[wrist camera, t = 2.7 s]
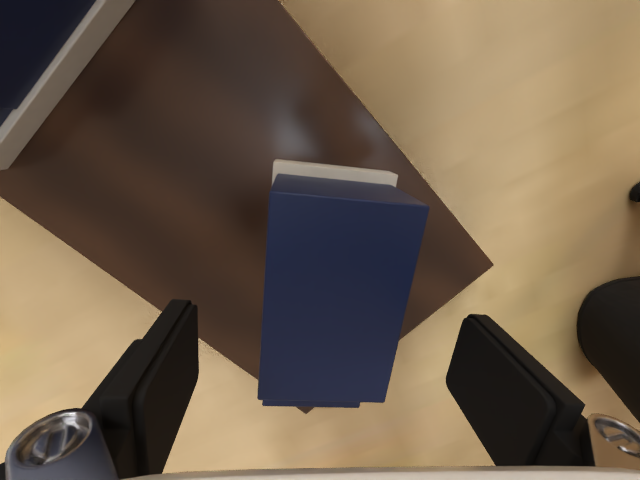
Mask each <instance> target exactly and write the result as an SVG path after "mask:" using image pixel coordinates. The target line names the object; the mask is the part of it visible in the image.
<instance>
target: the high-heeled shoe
mask: <svg viewBox="0 0 640 480" xmlns="http://www.w3.org/2000/svg"><path fill="white" fill-rule="evenodd" d="M630 200H632V201H635V202H640V182H639V183H638V184H636V185H635V186H634V187H633V189H632V191H631V193H630ZM577 334H578V340H579V343H580V346H581V349H582V351H583V353H584V355H585V356H586V358H587V359H588V360H589V362H590V363H591V364H592V365H593V366H594V367H595V368H596V369H597V370H598V371H599V373H600V374H601V375H602V376H603V378H604V379H605V380H606V381H607V383H608V384H609V385H610V386H611V388H612V389H613V390H614V392H615V393H616V394H617V395H618V397H619V398H620V399H621V400H622V402H623V403H624V404H625V405H626V407H627V408H628V409H629V410H630V412H631V413H632V414H633V415H634V417H635V418H636V419H637V420H638V422H639V423H640V276H638V277H630V278H623V279H617V280H613V281H610V282H608V283H605V284H603V285H601V286H599V287H597V288H595V289H593V290H592V291H591V292H590V293H589V294H588V295H587V297H586V299H585V301H584V302H583V304H582V307H581V309H580V311H579V315H578V323H577Z"/></svg>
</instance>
